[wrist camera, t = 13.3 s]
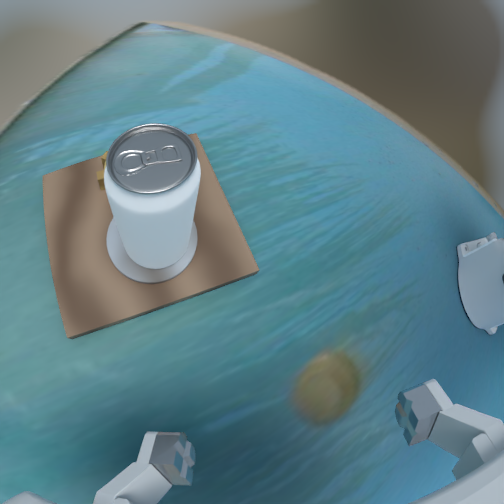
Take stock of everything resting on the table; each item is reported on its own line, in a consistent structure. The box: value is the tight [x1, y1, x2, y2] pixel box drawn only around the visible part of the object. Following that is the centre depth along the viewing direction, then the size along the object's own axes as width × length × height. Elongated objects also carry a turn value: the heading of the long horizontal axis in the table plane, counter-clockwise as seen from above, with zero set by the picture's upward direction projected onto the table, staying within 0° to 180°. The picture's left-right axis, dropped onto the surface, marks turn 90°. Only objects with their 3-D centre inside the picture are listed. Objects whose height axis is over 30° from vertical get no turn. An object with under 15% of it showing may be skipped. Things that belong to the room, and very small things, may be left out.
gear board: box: [43, 133, 259, 339], centre depth 26 cm, size 20×19×6 cm
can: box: [104, 124, 201, 269], centre depth 21 cm, size 6×6×12 cm
